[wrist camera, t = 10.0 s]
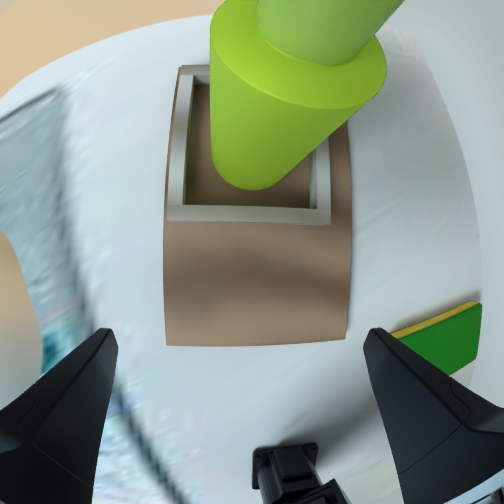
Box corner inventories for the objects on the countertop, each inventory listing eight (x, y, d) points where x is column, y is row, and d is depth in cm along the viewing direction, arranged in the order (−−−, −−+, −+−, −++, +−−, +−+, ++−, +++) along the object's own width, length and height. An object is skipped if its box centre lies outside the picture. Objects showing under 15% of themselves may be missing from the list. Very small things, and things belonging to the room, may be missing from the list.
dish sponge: (464, 353, 25) (476, 358, 23) (378, 395, 23) (390, 406, 21) (468, 299, 25) (483, 303, 22) (380, 334, 23) (395, 342, 21)
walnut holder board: (340, 335, 22) (353, 345, 19) (168, 340, 20) (162, 353, 18) (337, 87, 21) (349, 73, 19) (179, 73, 19) (177, 56, 17)
